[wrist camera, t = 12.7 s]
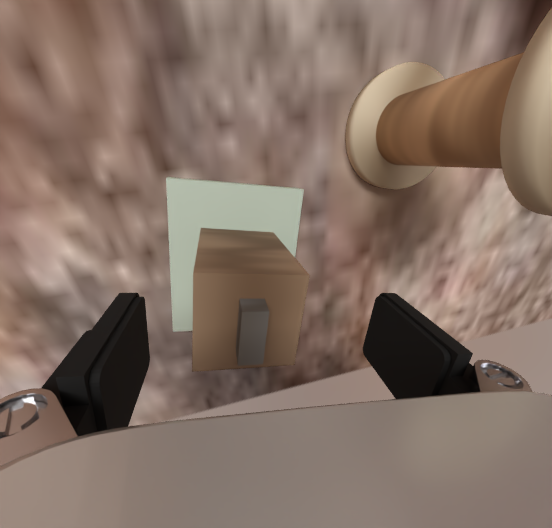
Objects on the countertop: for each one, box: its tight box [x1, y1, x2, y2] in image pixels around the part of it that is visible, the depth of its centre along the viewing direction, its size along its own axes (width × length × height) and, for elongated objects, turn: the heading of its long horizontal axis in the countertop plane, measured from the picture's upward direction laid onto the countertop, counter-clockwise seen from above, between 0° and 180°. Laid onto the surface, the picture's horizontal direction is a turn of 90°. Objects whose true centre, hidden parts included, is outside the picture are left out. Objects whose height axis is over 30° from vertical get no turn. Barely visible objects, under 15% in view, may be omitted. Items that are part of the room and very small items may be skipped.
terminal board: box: [166, 177, 304, 332], centre depth 18 cm, size 8×10×1 cm
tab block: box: [192, 228, 310, 372], centre depth 14 cm, size 4×4×8 cm
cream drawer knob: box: [345, 8, 552, 216], centre depth 12 cm, size 7×7×11 cm
